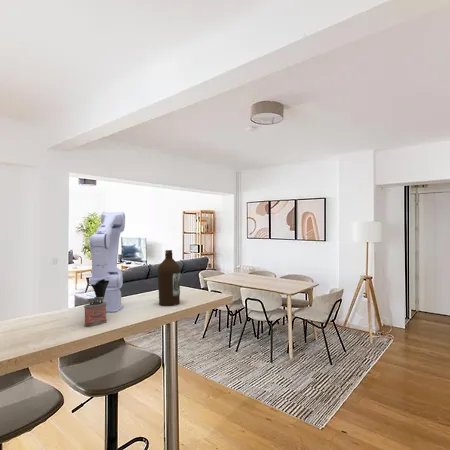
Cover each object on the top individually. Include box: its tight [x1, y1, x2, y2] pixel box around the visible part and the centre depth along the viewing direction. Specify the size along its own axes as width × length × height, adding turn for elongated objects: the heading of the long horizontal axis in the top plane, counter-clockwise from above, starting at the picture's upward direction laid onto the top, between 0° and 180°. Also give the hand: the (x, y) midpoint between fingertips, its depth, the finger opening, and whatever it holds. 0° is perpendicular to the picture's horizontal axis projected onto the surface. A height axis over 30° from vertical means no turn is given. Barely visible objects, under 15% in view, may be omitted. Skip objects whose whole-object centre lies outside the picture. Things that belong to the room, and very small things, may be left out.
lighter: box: [83, 296, 107, 328], centre depth 118 cm, size 8×3×10 cm, turn 134°
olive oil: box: [156, 249, 181, 307], centre depth 149 cm, size 11×11×25 cm
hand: (100, 300), depth 122 cm, fingers closed
